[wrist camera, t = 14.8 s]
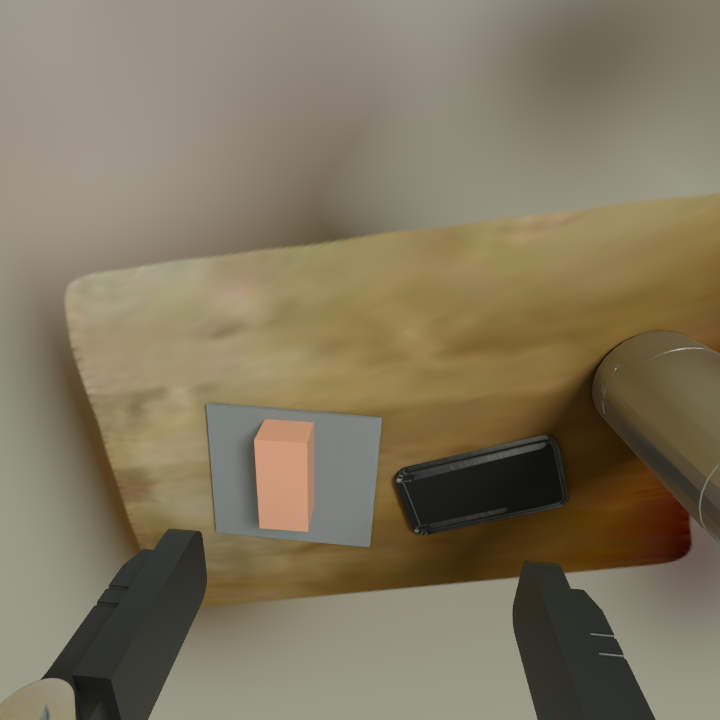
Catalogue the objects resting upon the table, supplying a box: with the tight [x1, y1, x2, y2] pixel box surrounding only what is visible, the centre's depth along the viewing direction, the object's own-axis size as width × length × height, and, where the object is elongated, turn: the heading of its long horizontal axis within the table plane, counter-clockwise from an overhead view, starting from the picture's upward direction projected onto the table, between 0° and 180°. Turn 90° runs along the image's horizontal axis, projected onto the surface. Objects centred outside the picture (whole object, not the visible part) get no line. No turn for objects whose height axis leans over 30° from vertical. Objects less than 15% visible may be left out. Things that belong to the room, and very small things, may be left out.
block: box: [254, 419, 314, 532], centre depth 40 cm, size 4×4×10 cm
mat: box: [206, 403, 382, 547], centre depth 43 cm, size 16×15×1 cm
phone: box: [396, 435, 569, 535], centre depth 42 cm, size 8×1×15 cm
